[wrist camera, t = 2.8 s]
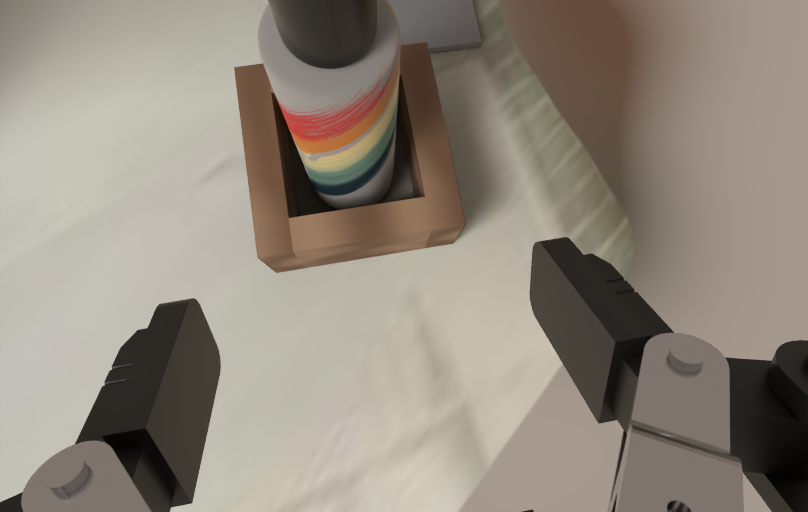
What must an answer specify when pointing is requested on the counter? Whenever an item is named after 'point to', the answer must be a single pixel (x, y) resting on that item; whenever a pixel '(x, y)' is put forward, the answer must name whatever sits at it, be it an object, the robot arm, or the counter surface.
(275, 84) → the lotion bottle
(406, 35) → the rubber mat
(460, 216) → the bottle holder
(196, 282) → the counter surface
